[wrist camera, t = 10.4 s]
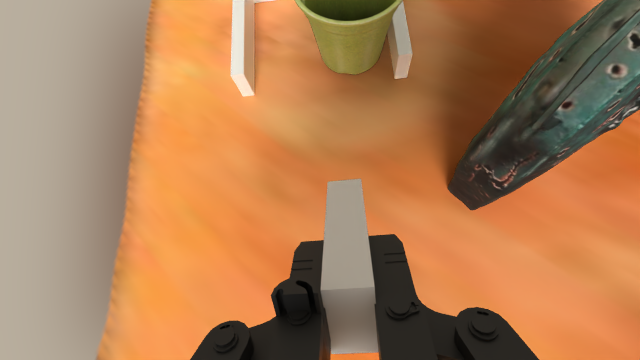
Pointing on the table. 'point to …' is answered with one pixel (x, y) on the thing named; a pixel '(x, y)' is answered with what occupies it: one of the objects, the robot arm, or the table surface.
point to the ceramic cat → (557, 105)
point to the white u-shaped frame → (246, 44)
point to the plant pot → (349, 31)
